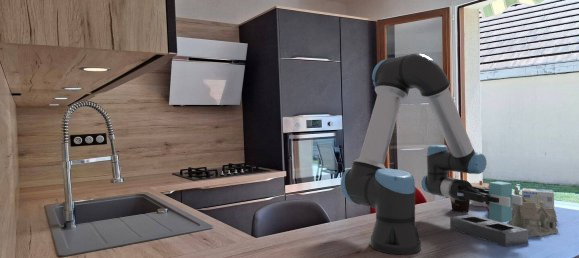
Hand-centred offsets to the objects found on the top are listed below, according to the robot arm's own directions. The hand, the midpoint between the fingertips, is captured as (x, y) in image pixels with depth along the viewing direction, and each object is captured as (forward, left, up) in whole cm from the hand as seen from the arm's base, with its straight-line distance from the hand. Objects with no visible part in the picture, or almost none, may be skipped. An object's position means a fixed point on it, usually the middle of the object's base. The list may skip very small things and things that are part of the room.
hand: (515, 201), depth 118 cm
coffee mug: (+20, +41, -13) cm, 48 cm away
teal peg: (0, +5, -7) cm, 9 cm away
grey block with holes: (0, +10, -13) cm, 17 cm away
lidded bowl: (+36, +44, -13) cm, 58 cm away
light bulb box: (+38, +19, -14) cm, 44 cm away
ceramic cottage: (+19, +8, -14) cm, 24 cm away
